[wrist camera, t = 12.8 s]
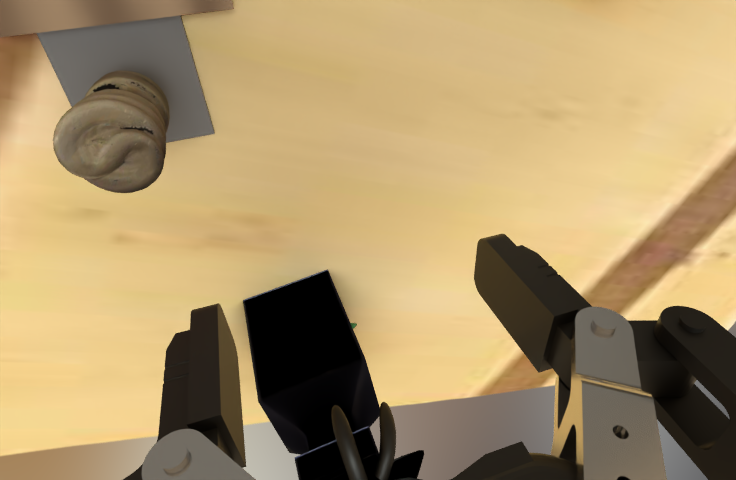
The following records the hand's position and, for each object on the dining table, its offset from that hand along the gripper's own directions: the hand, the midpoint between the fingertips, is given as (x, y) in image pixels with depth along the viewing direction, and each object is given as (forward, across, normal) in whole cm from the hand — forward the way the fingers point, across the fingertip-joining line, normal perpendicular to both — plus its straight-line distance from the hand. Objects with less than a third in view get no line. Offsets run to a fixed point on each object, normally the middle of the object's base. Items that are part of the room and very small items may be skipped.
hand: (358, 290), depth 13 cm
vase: (+32, +1, +31) cm, 44 cm away
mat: (+31, +10, +1) cm, 33 cm away
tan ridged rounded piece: (+31, +10, +1) cm, 32 cm away
